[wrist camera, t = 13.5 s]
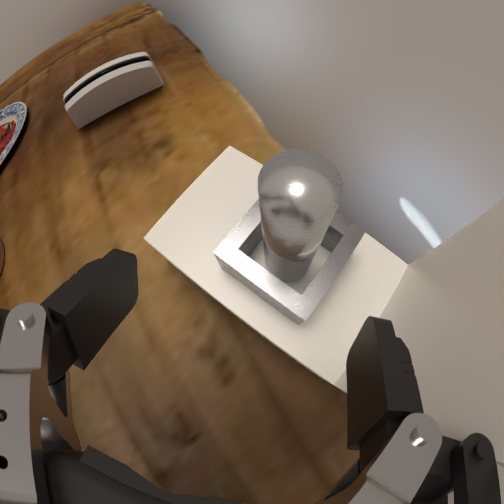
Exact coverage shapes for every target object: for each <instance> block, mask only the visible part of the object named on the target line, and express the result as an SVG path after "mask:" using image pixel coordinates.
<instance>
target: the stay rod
mask: <svg viewBox="0 0 504 504" xmlns="http://www.w3.org/2000/svg"><path fill="white" fill-rule="evenodd" d="M257 185H258V195H259V205H260V215H261V225H262V236H263V246H264V257H265V265H266V268H267V271H269V272H270V273H271V274H273V275H274V276H276V277H277V278H278V279H280V280H281V281H282V282H294V281H297V280H299V279H300V278H302V277H303V276H304V275H305V274H306V272H307V270H308V268H309V266H310V264H311V262H312V260H313V258H314V256H315V254H316V252H317V250H318V248H319V246H320V244H321V242H322V240H323V237H324V235H325V233H326V231H327V229H328V227H329V225H330V223H331V220H332V218H333V216H334V214H335V212H336V209H337V207H338V205H339V203H340V200H341V198H342V193H343V183H342V179H341V176H340V174H339V172H338V170H337V169H336V167H335V166H334V165H333V164H332V163H331V162H330V161H329V160H328V159H327V158H325V157H324V156H322V155H320V154H318V153H316V152H313V151H309V150H305V149H291V150H285V151H282V152H279V153H277V154H275V155H274V156H272V157H271V158H269V159H268V160H267V161H266V162H265V164H264V165H263V166H262V168H261V170H260V172H259V175H258V183H257Z"/></svg>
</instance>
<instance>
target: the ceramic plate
mask: <svg viewBox="0 0 504 504" xmlns="http://www.w3.org/2000/svg"><path fill="white" fill-rule="evenodd" d="M26 114H27V108H26V105H25V104H24V103H23V102H16V103H13V104H11V105H9V106H7V107H5V108H4V109H2V110H1V111H0V165H1V164H2V162H3V161H4V159H5V158H6V156H7V155H8V153H9V151H10V150H11V148H12V147H13V145H14V143H15V141H16V139H17V137H18V135H19V134H20V131H21V129H22V127H23V124H24V122H25V118H26Z"/></svg>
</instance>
